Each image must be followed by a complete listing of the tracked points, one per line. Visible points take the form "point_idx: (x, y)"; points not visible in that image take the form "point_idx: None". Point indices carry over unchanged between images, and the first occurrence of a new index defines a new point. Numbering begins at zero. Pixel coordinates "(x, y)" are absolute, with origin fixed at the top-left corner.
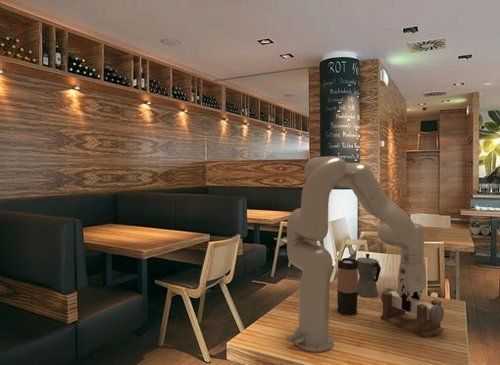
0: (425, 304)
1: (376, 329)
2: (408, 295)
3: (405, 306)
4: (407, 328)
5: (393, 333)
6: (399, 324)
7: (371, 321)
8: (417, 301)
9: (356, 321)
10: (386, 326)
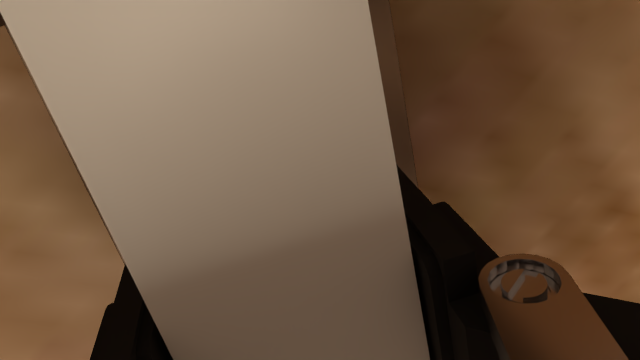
0: (183, 24)
1: (621, 142)
2: (589, 347)
3: (458, 227)
4: (394, 53)
5: (562, 27)
6: (410, 150)
7: None
8: (249, 250)
9: (631, 297)
10: (502, 175)
